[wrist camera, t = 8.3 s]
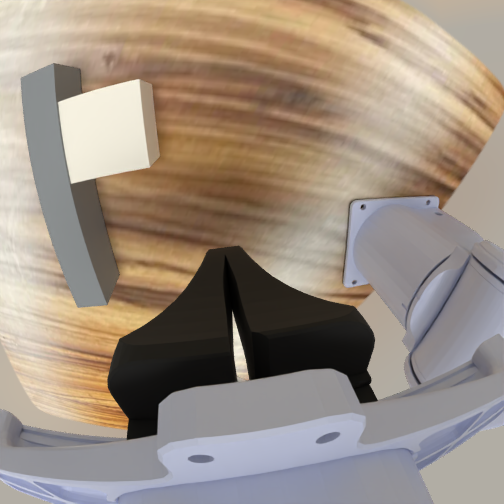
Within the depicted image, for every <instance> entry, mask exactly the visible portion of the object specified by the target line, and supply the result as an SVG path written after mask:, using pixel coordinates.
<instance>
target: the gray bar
mask: <svg viewBox="0 0 504 504" xmlns="http://www.w3.org/2000/svg"><path fill="white" fill-rule="evenodd" d="M21 90H22V103H23V114H24V122H25V130H26V137H27V143H28V149H29V155H30V160H31V166H32V170H33V175H34V180H35V184H36V188H37V192H38V196H39V200H40V204H41V208H42V211H43V215H44V218H45V222H46V225H47V228H48V231H49V234H50V238H51V241H52V244H53V246H54V249H55V252H56V255H57V258H58V261H59V263H60V266H61V269H62V271H63V274H64V276H65V279H66V281H67V284H68V286H69V288H70V291H71V293H72V296H73V298H74V300H75V302H76V305H77V307H78V308H79V307H91V306H103V305H108V302H109V299H110V297H111V294H112V292H113V289H114V287H115V284H116V282H117V279H118V277H119V275H120V274H119V271H118V268H117V265H116V261H115V258H114V255H113V251H112V248H111V244H110V241H109V237H108V234H107V230H106V226H105V222H104V218H103V214H102V210H101V206H100V202H99V198H98V193H97V189H96V184H95V179H89V180H85V181H81V182H77V183H73V184H71V181H70V176H69V171H68V166H67V161H66V156H65V150H64V144H63V138H62V131H61V124H60V116H59V107H58V102H60V101H62V100H65V99H68V98H71V97H74V96H77V95H80V94H82V90H81V76H80V69H78V68H74V67H69V66H64V65H60V64H55V63H53V64H51V65H48V66H46V67H44V68H41V69H39V70H37V71H35V72H32V73H30V74H28V75H26V76H24V77H22V78H21Z"/></svg>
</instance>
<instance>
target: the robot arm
mask: <svg viewBox="0 0 504 504" xmlns="http://www.w3.org/2000/svg"><path fill="white" fill-rule="evenodd" d="M427 200H428V202H427ZM426 202H427V203H426ZM362 204H364V206H363V208H361V209H360V207H361V205H362ZM438 206H439V198H438V197H436V196H418V197H398V198H381V199H365V200H355V201H353V202H352V203H351V205H350V216H349V229H348V240H347V251H346V260H345V269H344V278H343V284H344V286H345V287H347V288H349V287H354V286H360V285H365V284H370V285H371V286H372V287H373V289H374V290H375V291H376V292H377V294H378V295H379V296H380V297H381V299H382V300H383V301H384V302H385V304H386V305H387V306H388V308H389V309H390V310H391V311H392V313H393V314H394V315H395V317H396V318H397V319H398V320H399V322H400V323H401V324H402V326H403V327H404V328H405V330H406V334H405V336H404V338H403V340H402V342H403V343H404V345H405V346H406V347H407V349H408V350H409V352H410V353H409V354H408V356H407V357H406V359H405V363H404V370H405V375H406V379H407V381H408V383H409V386H410V389H407V390H405V391H402V392H400V393H397V394H394V395H392V396H389V397H386V398H384V399H381V400H377V398H376V396H375V394H374V392H373V390H372V388H371V387H370V385H369V384H370V383H371V377H370V375H369V373H368V371H367V367H368V364H369V361H370V358H371V355H372V352H373V349H374V343H375V337H374V333H373V331H372V330H371V328H370V326H369V325H368V323H367V322H366V320H365V319H364V318H363V316H362V315H361V314H360V313H359V311H358V310H357V309H356V308H355V307H354V306H350V305H345V304H340V303H335V302H330V301H327V300H323V299H320V298H317V297H314V296H311V295H308V294H305V293H303V292H301V291H299V290H296V289H294V288H292V287H290V286H288V285H286V284H284V283H283V282H281V281H279V280H278V279H276V278H274V277H273V276H271V275H270V274H269V273H267V272H266V271H265V270H264V269H262V268H261V267H260V266H259V265H258V264H257V263H256V262H255V261H254V260H253V259H252V258H251V257H250V256H249V255H248V254H247V253H246V252H245V251H244V250H243V249H242V248H241V247H240V246H233V247H225V248H217V249H209V250H208V251H207V253H206V255H205V258H204V260H203V262H202V264H201V266H200V267H199V269H198V271H197V272H196V274H195V276H194V277H193V279H192V280H191V282H190V283H189V284H188V286H187V287H186V289H185V290H184V291H183V292H182V294H181V295H180V296H179V297H178V298H177V299H176V300H175V301H174V302H173V303H172V304H171V305H170V306H168V307H167V308H166V309H165V310H164V311H163V312H162V313H160V314H159V315H158V316H157V317H155V318H154V319H152V320H151V321H150V322H148V323H147V324H145V325H144V326H142V327H140V328H139V329H137V330H135V331H133V332H131V333H130V334H128V335H126V336H124V337H122V338H120V339H119V342H118V344H117V347H116V349H115V352H114V355H113V358H112V362H111V366H110V371H109V375H108V379H107V380H108V389H109V391H110V393H111V395H112V396H113V398H114V399H115V401H116V402H117V403H118V405H119V406H120V408H121V409H122V410H123V412H124V413H125V414H126V416H127V417H128V418H129V422H128V431H127V438H113V437H112V438H111V437H99V436H89V435H79V434H71V433H64V432H57V431H52V430H46V429H40V428H35V427H31V426H26V425H22V423H21V422H20V421H19V419H17V418H16V417H15V416H14V415H13V414H12V413H10V412H8V411H6V410H2V409H0V480H1V481H3V482H4V483H6V484H7V485H9V486H10V487H12V488H14V489H15V490H18V491H20V492H23V493H25V494H28V495H31V496H33V497H36V498H39V499H41V500H44V501H47V502H50V503H53V504H434V503H433V500H432V498H431V496H430V494H429V492H428V489H427V487H426V485H425V483H424V481H423V479H422V476H421V474H420V472H419V470H421V469H423V468H425V467H426V466H428V465H430V464H432V463H433V462H435V461H437V460H438V459H440V458H441V457H443V456H445V455H446V454H448V453H449V452H451V451H452V450H454V449H455V448H457V447H458V446H459V445H461V444H463V443H464V442H465V441H467V440H468V439H470V438H471V437H472V436H474V435H475V434H476V433H478V432H479V431H482V430H487V429H492V428H496V427H500V426H504V250H503V249H502V248H500V247H499V246H497V245H495V244H494V243H492V242H490V241H487V240H483V238H482V237H481V236H480V235H479V234H478V233H476V232H475V231H474V230H472V229H471V228H469V227H468V226H466V225H465V224H463V223H461V222H460V221H458V220H457V219H455V218H454V217H452V216H450V215H449V214H447V213H445V212H444V211H442V210H441V209H439V208H438ZM353 280H355V281H354V282H352V281H353ZM232 311H233V314H234V318H235V322H236V325H237V329H238V332H239V336H240V339H241V343H242V346H243V350H244V354H245V358H246V363H247V369H248V374H249V380H248V381H241V382H238V381H237V375H236V368H235V361H234V349H233V321H232Z"/></svg>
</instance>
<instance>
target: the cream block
mask: <svg viewBox="0 0 504 504" xmlns="http://www.w3.org/2000/svg"><path fill="white" fill-rule="evenodd" d="M58 107H59V116H60V124H61V131H62V138H63V144H64V150H65V156H66V161H67V166H68V171H69V176H70V181H71V184H73V183H77V182H81V181H85V180H89V179H94V178H98V177H103V176H108V175H112V174H117V173H122V172H127V171H133V170H138V169H144V168H150V167H151V166H152V164H153V163H154V162H155V161H156V160H157V159H158V158H159V157H160V152H159V144H158V136H157V128H156V120H155V110H154V100H153V90H152V84H150V83H147V82H145V81H143V80H140V79H137V80H133V81H128V82H124V83H120V84H116V85H112V86H108V87H104V88H101V89H97V90H94V91H90V92H87V93H84V94H80V95H77V96H74V97H71V98H68V99H65V100H62V101H60V102H58Z"/></svg>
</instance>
